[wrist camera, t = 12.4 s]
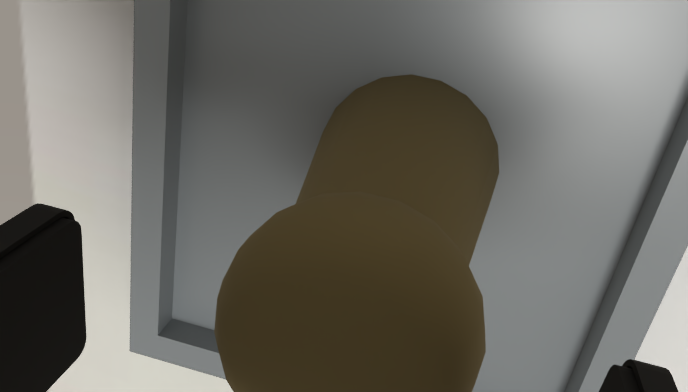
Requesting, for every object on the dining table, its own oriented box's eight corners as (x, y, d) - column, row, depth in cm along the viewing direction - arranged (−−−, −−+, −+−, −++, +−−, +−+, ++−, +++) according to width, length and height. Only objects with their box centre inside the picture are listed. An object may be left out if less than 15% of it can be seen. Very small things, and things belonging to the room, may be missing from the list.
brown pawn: (298, 206, 21) (137, 433, 12) (351, 46, 19) (201, 163, 9) (455, 270, 21) (428, 561, 11) (532, 115, 18) (585, 318, 9)
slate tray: (172, -217, 18) (137, -235, 16) (817, -116, 15) (860, -124, 14) (154, 322, 26) (129, 351, 24) (569, 441, 24) (576, 482, 22)
